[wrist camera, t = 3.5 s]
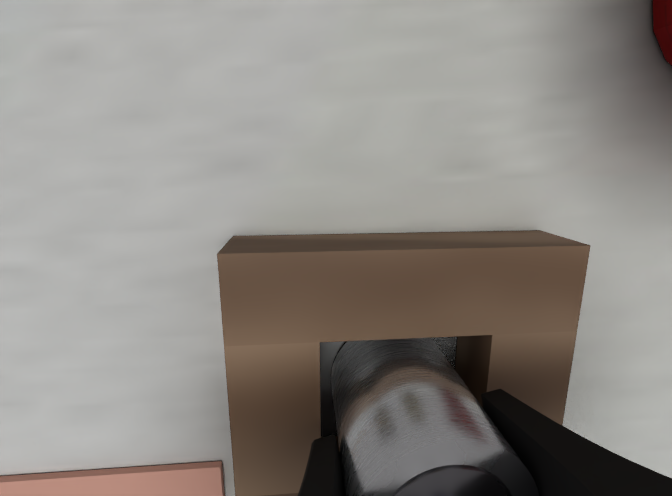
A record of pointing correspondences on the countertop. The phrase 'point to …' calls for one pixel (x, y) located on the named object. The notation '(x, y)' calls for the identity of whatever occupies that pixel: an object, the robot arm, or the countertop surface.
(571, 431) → the robot arm
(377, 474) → the metal plug
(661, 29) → the plastic cup
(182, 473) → the rubber mat
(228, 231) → the countertop surface
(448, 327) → the socket block
